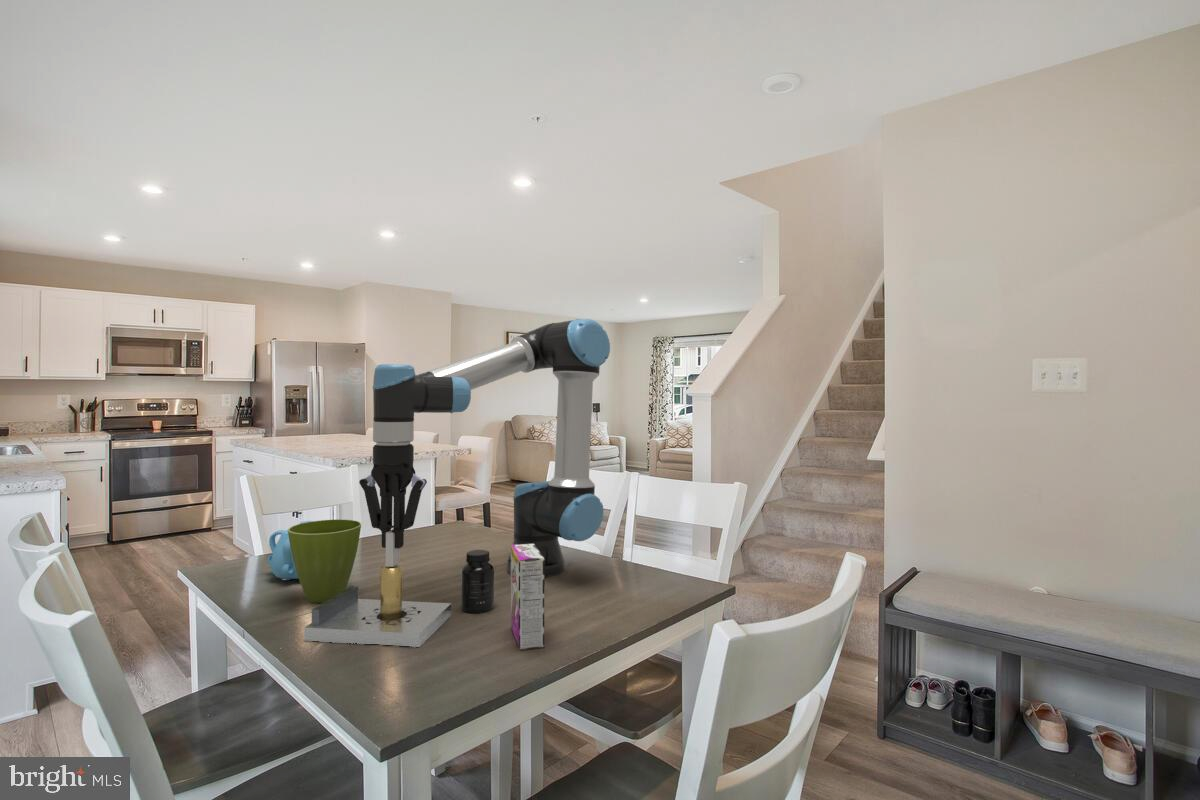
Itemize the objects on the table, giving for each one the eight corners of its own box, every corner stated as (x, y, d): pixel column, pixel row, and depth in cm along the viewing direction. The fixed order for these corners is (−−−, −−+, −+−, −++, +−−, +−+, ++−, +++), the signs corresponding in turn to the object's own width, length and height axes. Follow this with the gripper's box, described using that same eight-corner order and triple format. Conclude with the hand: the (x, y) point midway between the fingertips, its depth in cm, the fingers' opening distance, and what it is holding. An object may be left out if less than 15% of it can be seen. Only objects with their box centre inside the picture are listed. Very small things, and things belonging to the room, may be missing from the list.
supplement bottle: (458, 605, 128) (459, 549, 128) (489, 601, 131) (490, 547, 131) (464, 615, 122) (465, 557, 122) (497, 611, 125) (497, 554, 125)
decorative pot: (348, 578, 147) (349, 523, 147) (275, 589, 137) (276, 531, 138) (333, 563, 160) (334, 513, 160) (265, 573, 151) (266, 519, 151)
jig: (451, 615, 122) (451, 588, 122) (419, 647, 106) (419, 617, 106) (350, 610, 124) (350, 584, 124) (304, 641, 108) (304, 611, 108)
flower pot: (324, 612, 123) (325, 536, 123) (271, 603, 128) (271, 530, 128) (374, 591, 137) (375, 522, 137) (325, 583, 142) (325, 517, 142)
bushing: (405, 624, 117) (406, 564, 117) (396, 632, 113) (396, 570, 113) (386, 624, 117) (386, 563, 117) (376, 631, 113) (376, 569, 113)
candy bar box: (508, 627, 116) (509, 544, 116) (534, 625, 117) (534, 542, 117) (517, 651, 105) (518, 559, 105) (545, 648, 106) (546, 557, 106)
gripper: (433, 442, 118) (432, 560, 118) (371, 441, 119) (370, 558, 119) (417, 445, 111) (416, 571, 111) (351, 444, 112) (350, 568, 112)
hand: (392, 564), depth 115 cm, fingers closed
